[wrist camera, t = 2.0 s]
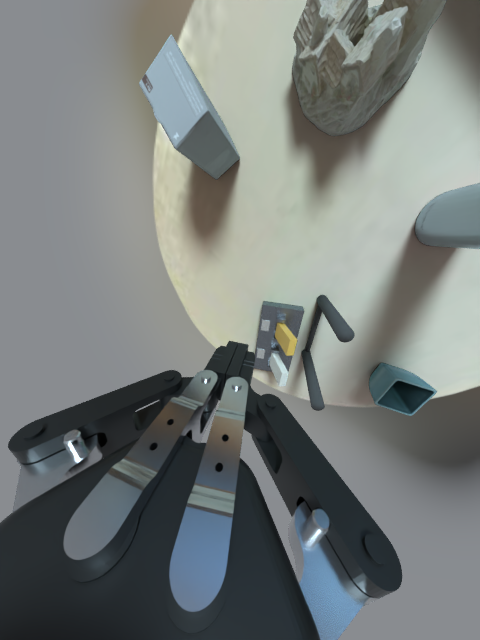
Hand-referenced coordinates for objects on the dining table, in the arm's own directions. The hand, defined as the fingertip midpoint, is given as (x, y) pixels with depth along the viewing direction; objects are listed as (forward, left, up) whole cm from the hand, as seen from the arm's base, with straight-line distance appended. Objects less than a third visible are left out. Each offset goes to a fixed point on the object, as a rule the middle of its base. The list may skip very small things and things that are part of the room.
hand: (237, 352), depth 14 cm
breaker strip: (-5, +17, -34) cm, 38 cm away
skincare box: (+14, -23, -34) cm, 43 cm away
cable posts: (-14, +13, -34) cm, 39 cm away
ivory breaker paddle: (-5, +22, -30) cm, 37 cm away
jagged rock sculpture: (-9, -33, -34) cm, 49 cm away
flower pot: (-35, +22, -34) cm, 54 cm away
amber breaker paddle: (-5, +13, -30) cm, 33 cm away
